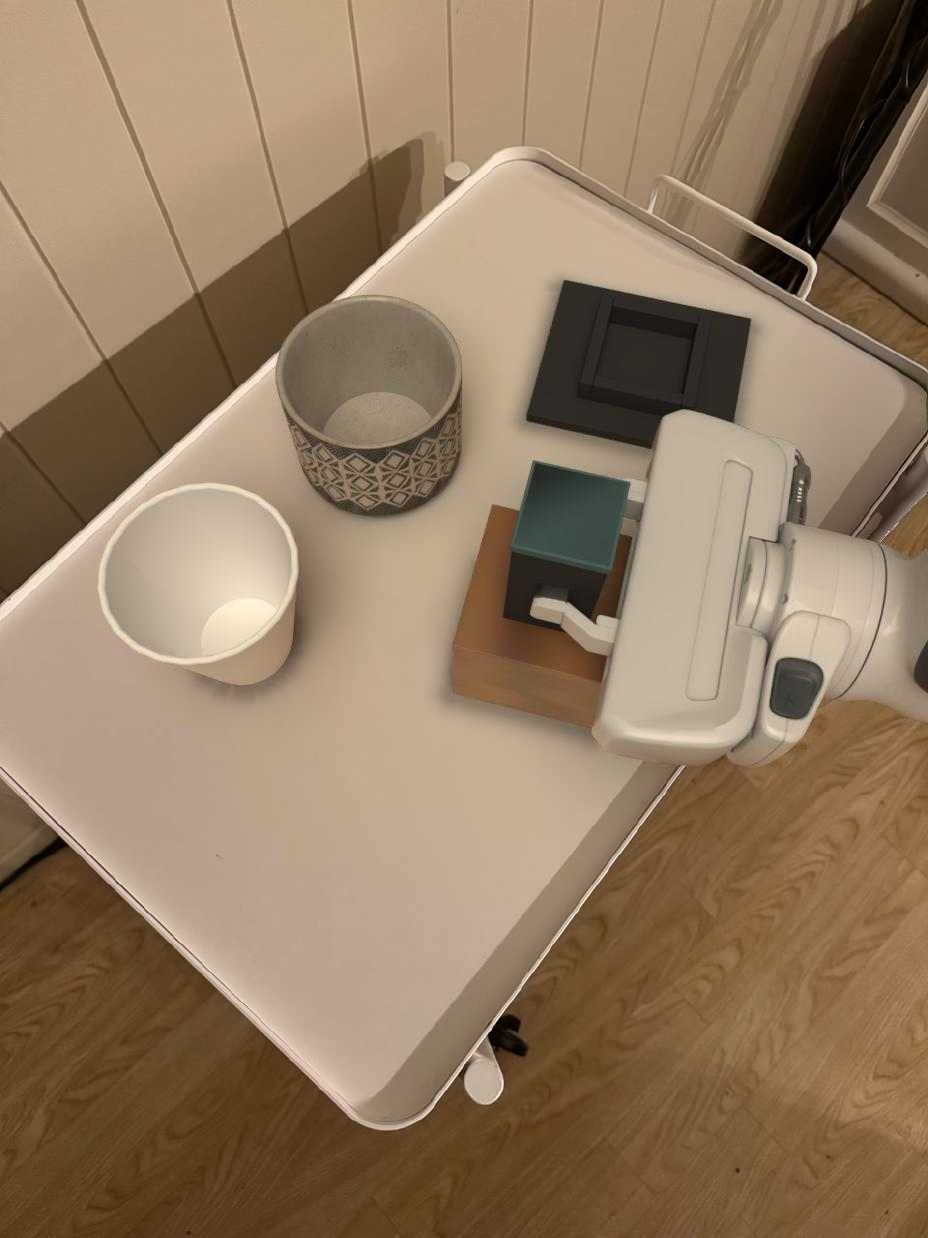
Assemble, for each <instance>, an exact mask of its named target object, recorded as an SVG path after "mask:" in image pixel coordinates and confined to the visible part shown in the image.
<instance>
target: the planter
mask: <svg viewBox="0 0 928 1238" xmlns="http://www.w3.org/2000/svg"><path fill="white" fill-rule="evenodd" d="M274 373H275V375H274V376H275V377H274V378H275V386H276V391H277V394H278V397H279V401H280V403H281V406H282V407H281V408H282V410H283V413H284V415H285V419H286V422H287V426H288V429H289V432H290V435H291V438H292V441H293V443H294V448H295V451H296V454H297V458H298V460H299V463H300V466H301V469H302V471H303V474H304V476H305V478H306V479H307V480H308V482H309V484H310V485H311V487H312V488H313V489H314V490H315V491H316V492H317V493H318V494H319V495H320V496H321V497H322V498H323V499H325V500H327V501H328V502H329V503H331V504H333V505H335V506H336V507H338V508H340V509H342V510H345V511H348V512H351V513H354V514H360V515H366V516H390V515H396V514H401V513H404V512H408V511H411V510H414V509H416V508H417V507H419V506H422V505H423V504H426V503H427V502H428V501H430V500H431V499H433V498H434V497H435V496H437V494H438V493H440V492H441V491H442V490H443V489H444V488H445V486H446V485H447V484H448V482H449V481H451V479H452V477H453V475H454V473H455V472H456V470H457V468H458V465H459V461H460V458H461V453H462V441H463V432H462V431H463V361H462V354H461V352H460V348H459V345H458V343H457V341H456V339H455V337H454V335H453V334H452V332H451V331H450V330H449V328H448V327H447V325H446V324H445V323H444V322H443V321H442V320H440V318H439V317H438V316H436V315H435V314H434V313H432V312H431V311H429V310H428V309H426V308H425V307H423V306H422V305H421V306H420V305H419V304H418V303H415V302H412V301H410V300H407V299H403V298H401V297H396V296H392V295H385V294H360V295H359V294H358V295H352V296H348V297H342V298H340V299H337V300H334V301H331V302H328V303H326V304H324V305H322V306H320V307H319V308H316V309H315V310H313V311H312V312H310V313H309V314H307V315H306V316H305V317H304V318H302V319H301V320H300V321H299V322H298V323H297V324H296V325H295V326H294V327H293V328H292V330H291V331H290V332H289V334H288V335H287V337H286V338H285V340H284V341H283V343H282V345H281V347H280V350H279V352H278V355H277V360H276V364H275V372H274Z"/></svg>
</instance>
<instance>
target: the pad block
mask: <svg viewBox="0 0 928 1238" xmlns="http://www.w3.org/2000/svg"><path fill="white" fill-rule="evenodd" d="M630 484H631V482H628V481H624V480H620V478H614V477H610V476H606V475H602V474H597V473H592V472H589V471H584V470H579V469H576V468H575V469H574V468H570V467H566V466H561V465H557V464H552V463H548V462H544V461H539V460H535V459H533V460H532V462H531V467H530V470H529V473H528V477H527V480H526V485H525V489H524V492H523V497H522V499H521V503H520V507H519V510H520V511H519V514H518V518H517V522H516V526H515V529H514V533H513V537H512V541H511V544H510V551H511V560H510V567H509V575H508V583H507V590H506V598H505V605H504V613H503V618H506V619H510V620H515V621H519V622H523V623H527V624H531V625H535V626H539V627H543V628H547V629H552V630H556V631H560V632H564V633H567V632H566V631H565V630H564V629H563V628H562V627H561V624H557V623H553V622H549V621H545V620H541V619H537V618H534V617H533V616H531V615H530V611H531V607H532V603H533V599H534V595H535V591H536V587H537V584H539V583H546V584H550V585H552V586H553V587H555V586H559V587H563V588H567V589H570V590H569V595H568V599H567V602H569V603H570V604H571V605H572V606H574V607H575V608H576V609H577V610H578V611H580V612H581V613H582V614H583V615H584V616H586V617H587V618H588V619H589V620H590V619H591V616H592V613H593V611H594V608H595V606H596V603H597V601H598V598H599V595H600V593H601V590H602V588H603V585H604V583H605V580H606V577H607V575H608V574H611V571H612V567H613V563H614V558H615V554H616V549H617V544H618V540H619V535H620V534H621V530H622V526H623V521H624V512H625V508H626V503H627V498H628V494H629V489H630Z"/></svg>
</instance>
